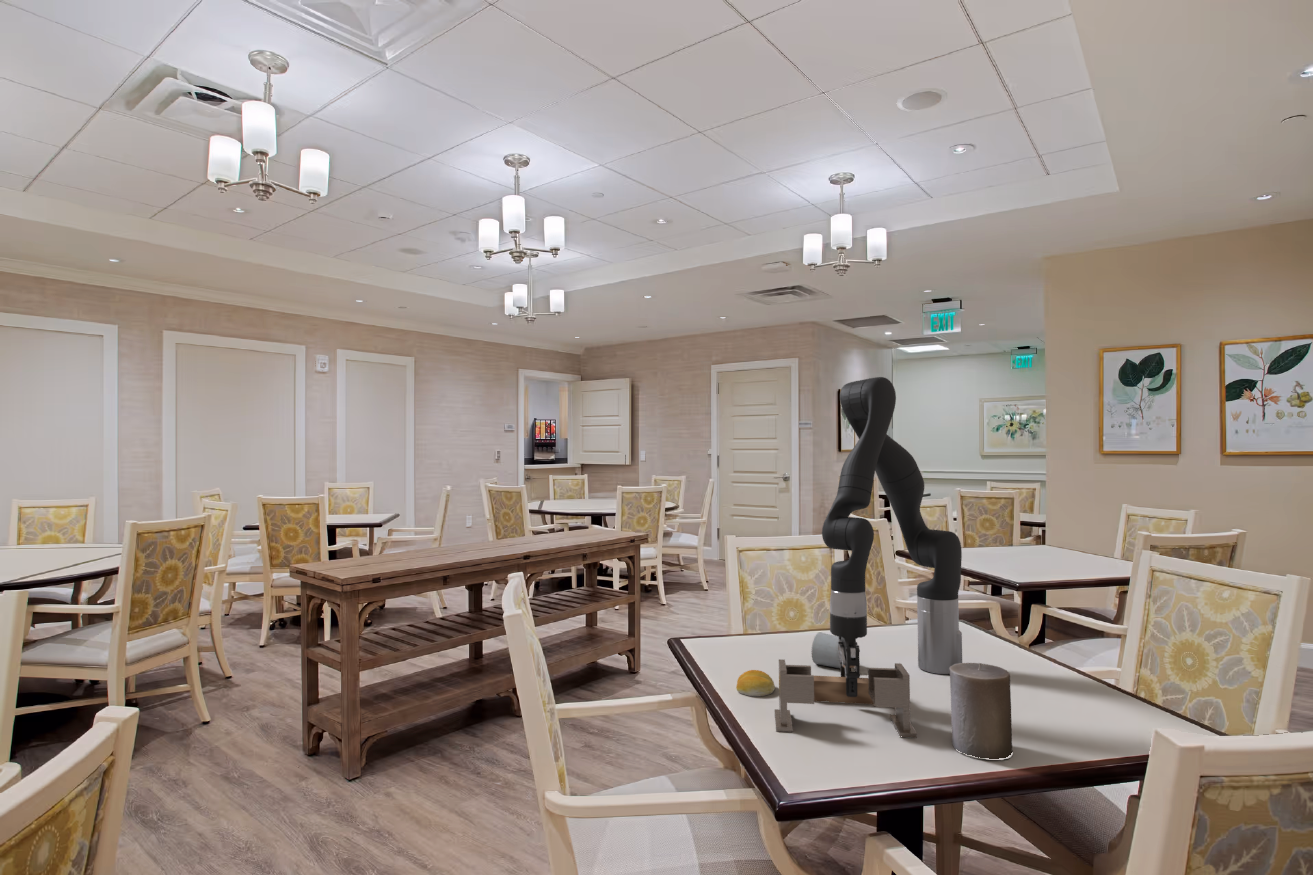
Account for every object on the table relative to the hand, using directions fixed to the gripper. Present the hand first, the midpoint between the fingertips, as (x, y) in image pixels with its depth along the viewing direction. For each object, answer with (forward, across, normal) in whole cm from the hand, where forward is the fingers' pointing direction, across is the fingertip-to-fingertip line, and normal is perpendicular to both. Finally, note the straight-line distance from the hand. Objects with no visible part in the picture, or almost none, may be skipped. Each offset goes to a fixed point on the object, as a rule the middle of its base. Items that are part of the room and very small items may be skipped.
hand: (848, 689), depth 143 cm
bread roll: (+3, +4, +20) cm, 20 cm away
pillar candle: (+2, -22, -20) cm, 29 cm away
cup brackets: (+2, -14, +3) cm, 14 cm away
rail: (+3, 0, 0) cm, 3 cm away
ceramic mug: (+2, +25, 0) cm, 25 cm away
